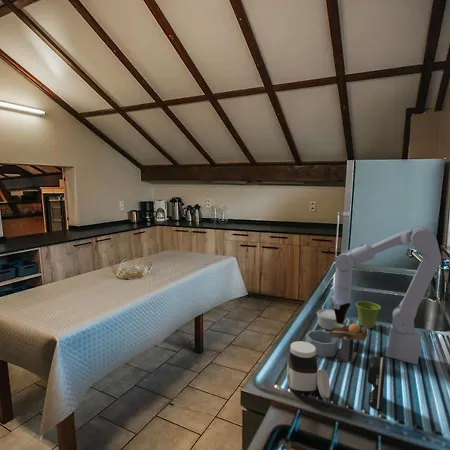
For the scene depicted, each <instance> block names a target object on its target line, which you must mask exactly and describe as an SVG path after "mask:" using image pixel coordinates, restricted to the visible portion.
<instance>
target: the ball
mask: <svg viewBox="0 0 450 450" xmlns="http://www.w3.org/2000/svg"><path fill="white" fill-rule="evenodd" d="M348 328H349V332H350V333H351V334H359V332H360V329H361V328H360V325H359V324H357V323H351V324H350V325H348Z"/></svg>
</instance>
